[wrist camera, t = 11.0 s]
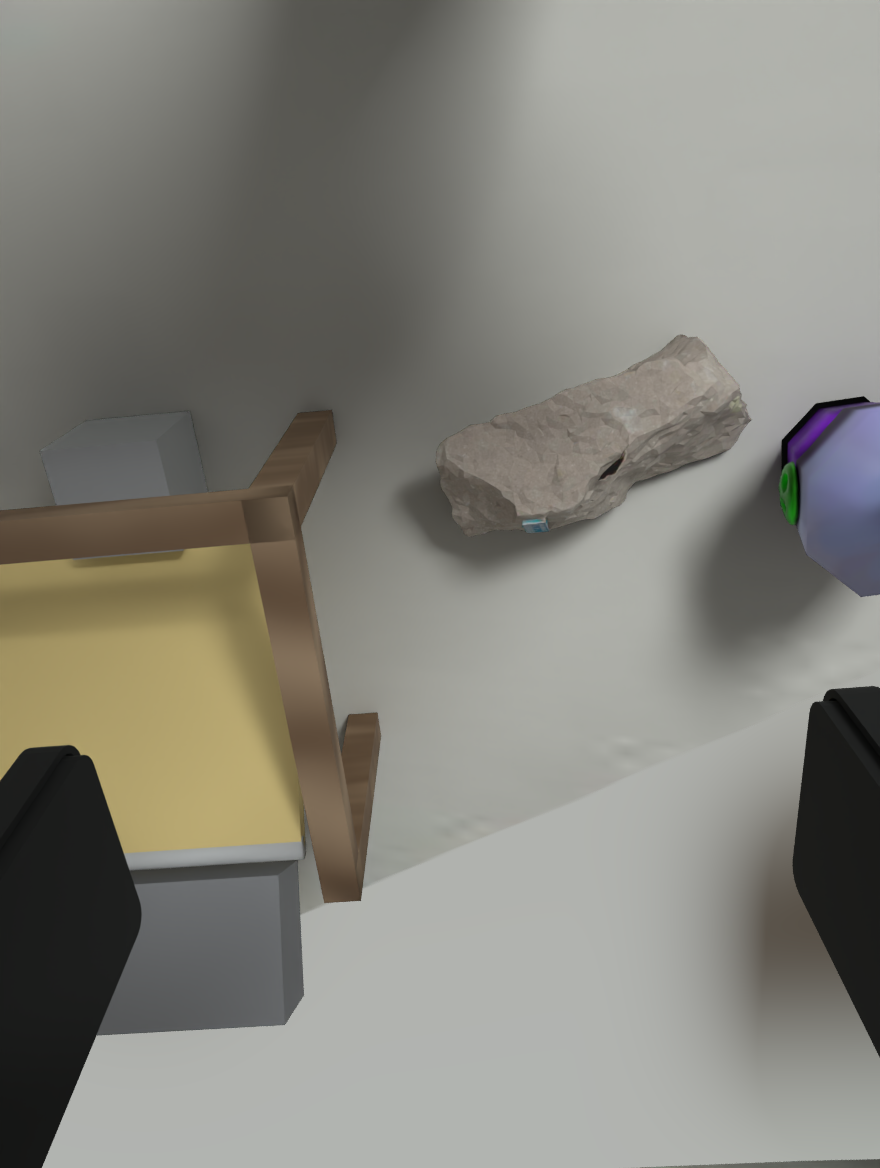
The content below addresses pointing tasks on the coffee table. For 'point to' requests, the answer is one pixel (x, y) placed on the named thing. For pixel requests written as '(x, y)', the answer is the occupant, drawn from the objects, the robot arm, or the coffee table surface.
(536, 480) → the concrete fragment
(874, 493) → the potion bottle
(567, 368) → the coffee table surface
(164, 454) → the smooth grey cube
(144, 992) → the trapdoor
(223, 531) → the frame
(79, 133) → the coffee table surface
